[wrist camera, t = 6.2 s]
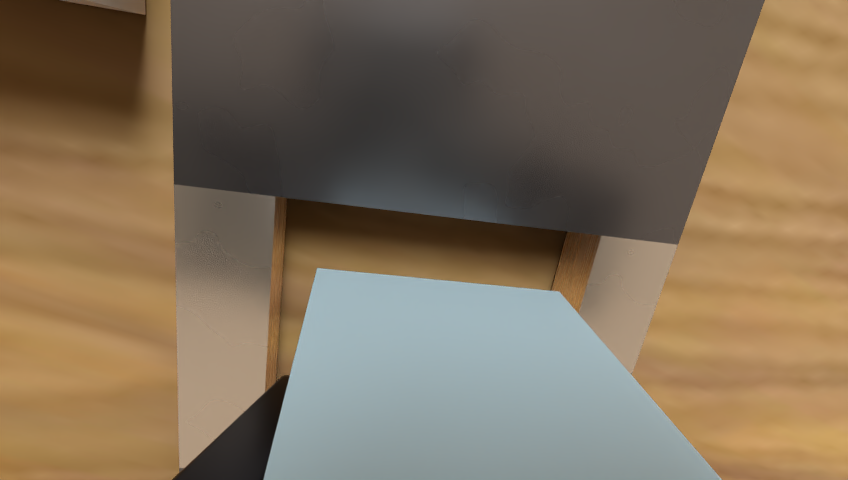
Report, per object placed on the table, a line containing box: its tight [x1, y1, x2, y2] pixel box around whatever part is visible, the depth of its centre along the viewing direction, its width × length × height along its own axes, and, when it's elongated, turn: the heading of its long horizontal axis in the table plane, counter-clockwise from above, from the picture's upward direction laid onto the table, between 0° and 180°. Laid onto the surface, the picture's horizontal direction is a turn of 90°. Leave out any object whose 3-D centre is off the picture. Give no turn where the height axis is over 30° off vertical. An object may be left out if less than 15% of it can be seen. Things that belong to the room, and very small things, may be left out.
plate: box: [171, 0, 765, 473], centre depth 10 cm, size 10×20×2 cm, turn 171°
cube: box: [263, 268, 722, 480], centre depth 7 cm, size 4×4×4 cm
